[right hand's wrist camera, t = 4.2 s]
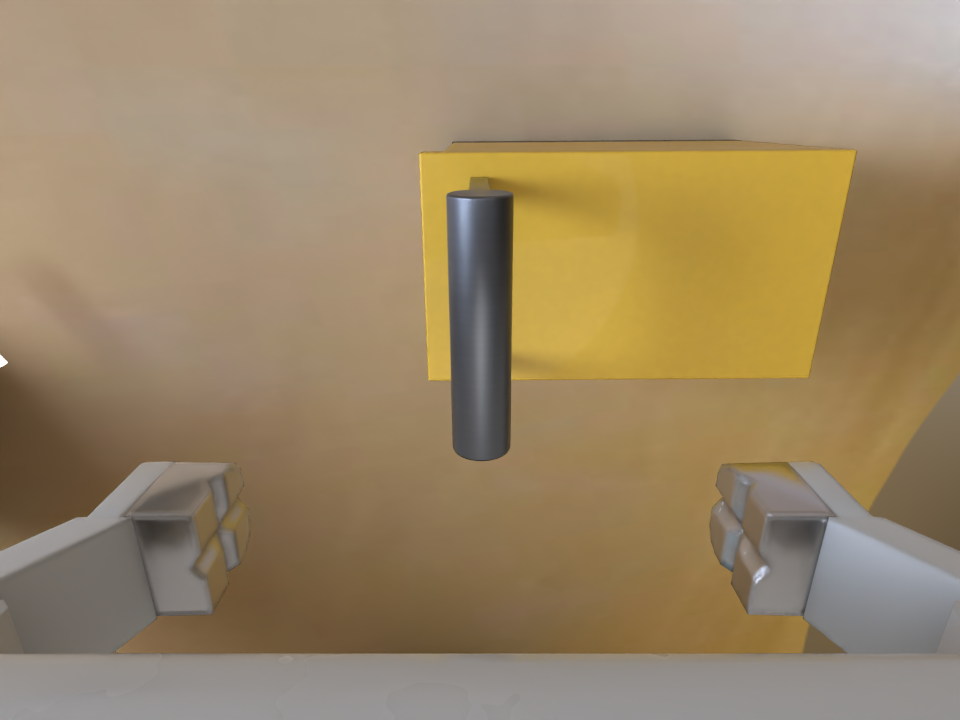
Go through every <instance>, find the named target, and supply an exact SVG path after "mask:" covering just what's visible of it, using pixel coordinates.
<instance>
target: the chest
mask: <svg viewBox="0 0 960 720" xmlns="http://www.w3.org/2000/svg"><path fill="white" fill-rule="evenodd" d="M704 149H837V148H827V147H814V146H801V145H789V144H776V143H763V142H750V141H742V140H639V141H497V142H453V143H452V145H451V146H449V147H448V148H447V149H446V150H445V151H562V150H704Z"/></svg>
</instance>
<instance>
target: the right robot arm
mask: <svg viewBox="0 0 960 720" xmlns="http://www.w3.org/2000/svg"><path fill="white" fill-rule="evenodd" d="M6 363H8V362H7V361H6V360H5V359H4V358H3V357H2V356H1V355H0V367H2V366H3V365H5V364H6ZM243 487H244V482H243V477H242V472H241V468H240V467H239V466H238V465H237V464H236V463H212V462H174V461H167V462H146V463H141V464H140V465H139V466H138V467H137V468H136V469H135V470H134V471H133V472H132V473H131V474H130V475H129V476H128V477H127V478H126V479H125V480H124V481H123V482H122V483H121V484H120V485H119V486H118V487H117V488H116V489H115V490H114V491H113V492H112V493H111V494H110V495H109V496H108V497H107V498H106V499H105V500H104V501H103V502H102V503H101V504H100V505H99V506H98V507H97V508H96V509H95V510H94V511H93V512H92V513H91V514H90V515H89V516H88V517H76V518H74V519H72V520H70V521H67V522H65V523H63V524H61V525H58V526H56V527H54V528H51V529H49V530H47V531H45V532H42V533H40V534H38V535H36V536H33V537H31V538H29V539H27V540H24V541H22V542H20V543H18V544H15V545H13V546H11V547H8V548H6V549H4V550H2V551H0V720H960V551H958V550H956V549H954V548H951V547H949V546H947V545H945V544H942V543H940V542H938V541H936V540H933V539H931V538H929V537H926V536H924V535H922V534H920V533H917V532H915V531H913V530H911V529H908V528H906V527H904V526H902V525H899V524H897V523H895V522H893V521H890V520H888V519H886V518H884V517H872V516H871V515H870V514H869V513H868V512H867V511H866V510H865V509H864V508H863V507H862V506H861V505H860V504H859V503H858V502H857V501H856V500H855V499H854V498H853V497H852V496H851V495H850V494H849V493H848V492H847V491H846V490H845V489H844V488H843V487H842V486H841V485H840V484H839V483H838V482H837V481H836V480H835V479H834V478H833V477H832V476H831V475H830V474H829V473H828V472H827V471H826V470H825V469H824V468H823V467H822V466H821V465H820V464H818V463H816V462H813V461H803V462H773V463H733V464H722V465H721V468H720V470H719V472H718V476H717V481H716V487H717V489H718V490H719V492H720V493H721V495H722V496H723V497H722V498H721V499H720V500H719V501H718V502H717V503H716V504H715V505H714V506H713V507H712V511H711V519H710V534H711V543H712V546H713V549H714V553H715V555H716V557H717V559H718V561H719V562H720V564H721V565H723V566H724V567H726V568H727V569H729V570H730V571H732V572H733V575H732V580H731V585H732V587H733V588H734V590H735V592H736V594H737V596H738V597H739V599H740V601H741V603H742V605H743V606H744V608H745V610H746V612H747V614H750V615H787V616H803V619H804V620H806V621H807V622H808V623H810V624H811V625H812V626H813V627H815V628H816V629H817V630H819V631H820V632H821V633H822V634H824V635H825V636H826V637H827V638H829V639H830V640H831V641H833V642H834V643H835V644H836V645H838V646H839V647H840V648H842V649H843V650H844V651H845V652H847V653H845V654H844V653H824V654H823V653H814V654H813V653H806V654H805V653H688V654H261V653H114V652H115V651H116V650H117V649H119V648H120V647H121V646H123V645H124V644H125V643H126V642H128V641H129V640H130V639H131V638H133V637H134V636H135V635H137V634H138V633H139V632H140V631H142V630H143V629H144V628H146V627H147V626H148V625H149V624H151V623H152V622H153V621H155V620H156V619H157V617H156V616H172V615H208V614H213V612H214V610H215V608H216V607H217V605H218V603H219V601H220V599H221V597H222V596H223V594H224V592H225V590H226V588H227V587H228V585H229V580H228V575H227V572H228V571H230V570H231V569H233V568H234V567H236V566H237V565H239V564H240V562H241V561H242V559H243V557H244V555H245V553H246V550H247V545H248V541H249V536H250V517H249V511H248V507H247V506H246V505H245V504H244V503H243V502H242V501H241V500H240V499H239V498H238V497H237V496H238V495H239V493H240V492H241V490H242V489H243Z"/></svg>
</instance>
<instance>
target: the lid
mask: <svg viewBox="0 0 960 720" xmlns="http://www.w3.org/2000/svg"><path fill="white" fill-rule="evenodd" d="M856 153H857V151H856V150H853V149H704V150H562V151H424V152H421V153H420V154H419V167H420V191H421V216H422V240H423V264H424V288H425V312H426V336H427V360H428V379H429V380H430V381H447V380H451V398H452V436H453V449H454V451H455V452H456V453H457V454H458V455H459V456H461V457H463V458H465V459H469V460H474V461H489V460H494V459H497V458H500V457H502V456H504V455H505V454H506V453H507V452H508V451H509V449H510V431H511V380H587V379H727V378H809V375H810V371H811V366H812V361H813V356H814V352H815V347H816V342H817V337H818V333H819V328H820V323H821V319H822V314H823V309H824V304H825V300H826V295H827V290H828V286H829V281H830V276H831V271H832V267H833V262H834V257H835V252H836V248H837V243H838V238H839V234H840V229H841V224H842V219H843V215H844V210H845V205H846V200H847V196H848V191H849V186H850V182H851V177H852V172H853V167H854V163H855V158H856Z"/></svg>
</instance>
